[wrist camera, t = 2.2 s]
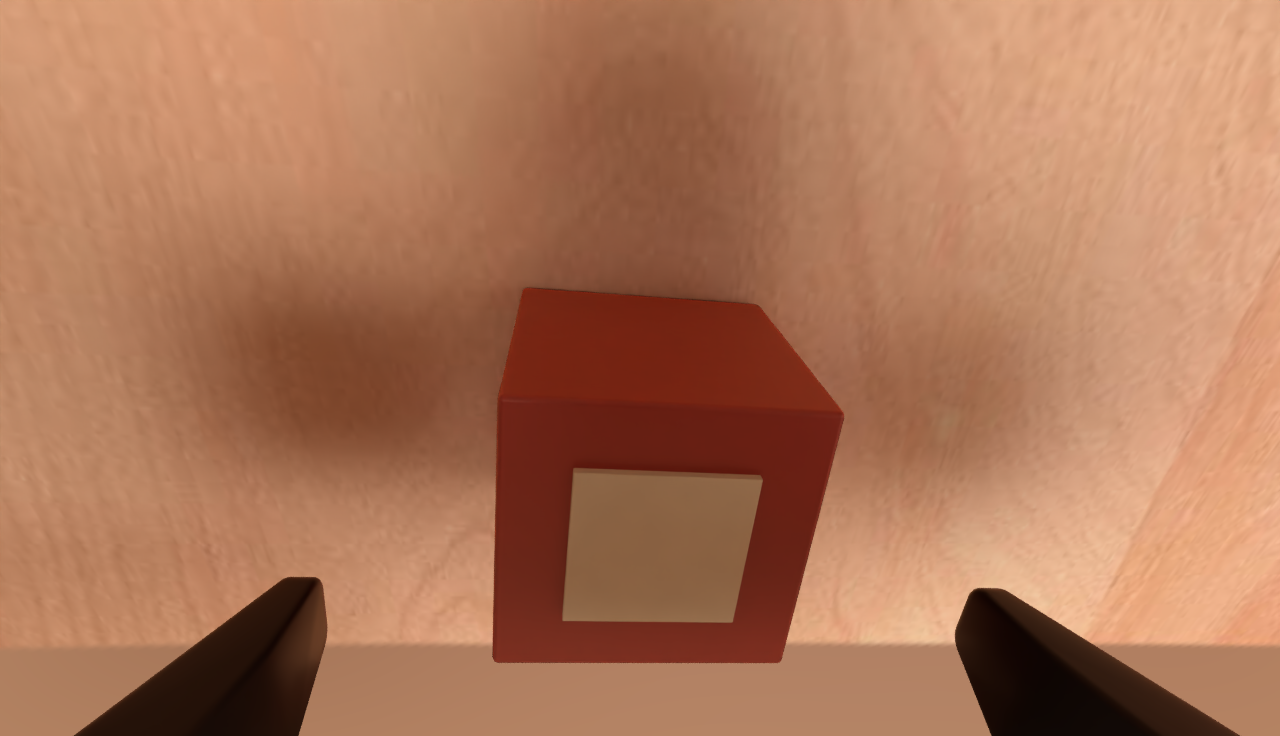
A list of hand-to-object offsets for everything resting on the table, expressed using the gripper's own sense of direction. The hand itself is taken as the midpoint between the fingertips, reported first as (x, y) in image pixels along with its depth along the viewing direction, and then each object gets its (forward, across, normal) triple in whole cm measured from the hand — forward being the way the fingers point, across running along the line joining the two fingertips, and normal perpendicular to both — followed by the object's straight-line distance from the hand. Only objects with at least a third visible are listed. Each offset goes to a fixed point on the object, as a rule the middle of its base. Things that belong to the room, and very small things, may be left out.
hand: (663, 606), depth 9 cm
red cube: (+6, 0, 0) cm, 6 cm away
